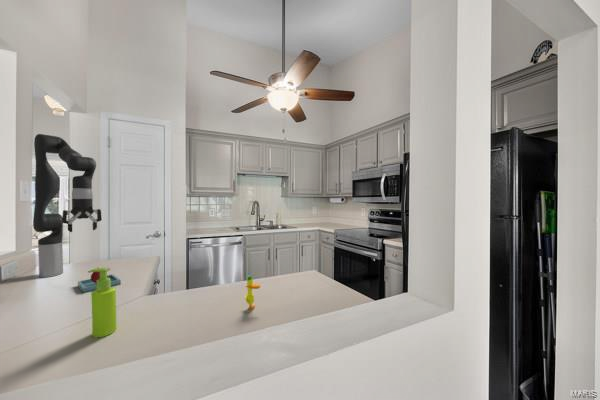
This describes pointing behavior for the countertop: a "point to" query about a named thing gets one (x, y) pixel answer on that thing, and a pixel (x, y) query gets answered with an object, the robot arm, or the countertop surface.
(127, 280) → the countertop surface
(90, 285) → the tray
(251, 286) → the toy figure
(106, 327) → the soap dispenser
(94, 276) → the onion
